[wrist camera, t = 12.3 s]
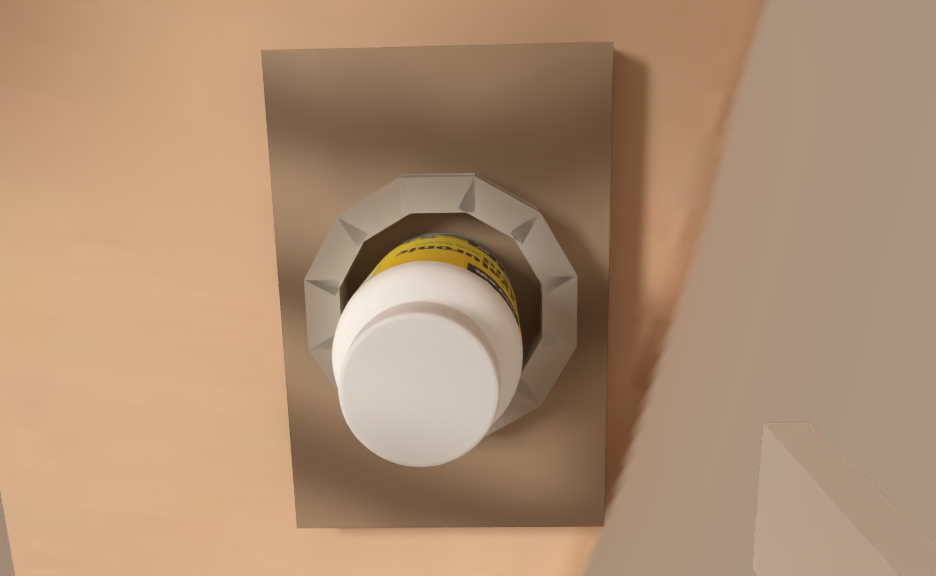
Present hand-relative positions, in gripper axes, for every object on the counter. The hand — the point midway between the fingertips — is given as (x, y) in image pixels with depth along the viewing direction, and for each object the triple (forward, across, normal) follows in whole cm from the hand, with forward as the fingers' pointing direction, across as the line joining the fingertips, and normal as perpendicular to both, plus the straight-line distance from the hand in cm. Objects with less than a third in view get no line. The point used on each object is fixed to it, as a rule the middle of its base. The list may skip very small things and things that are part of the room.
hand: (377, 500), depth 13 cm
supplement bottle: (+16, 0, 0) cm, 16 cm away
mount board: (+17, 0, -1) cm, 17 cm away
